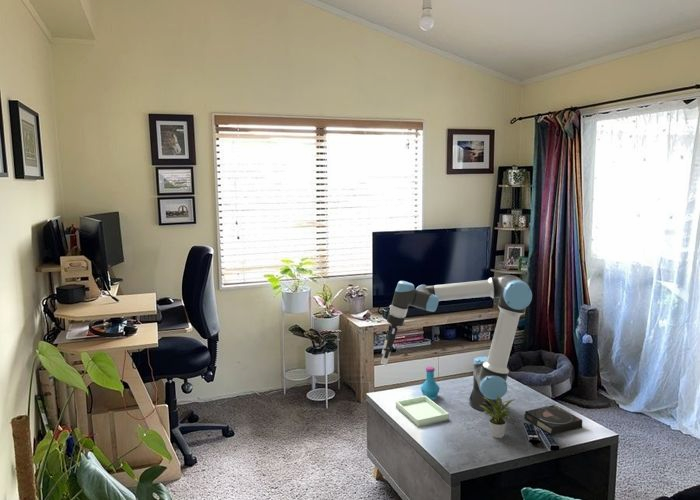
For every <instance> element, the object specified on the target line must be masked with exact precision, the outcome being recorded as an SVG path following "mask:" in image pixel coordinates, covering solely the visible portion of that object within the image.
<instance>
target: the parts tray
mask: <svg viewBox="0 0 700 500" xmlns="http://www.w3.org/2000/svg"><path fill="white" fill-rule="evenodd" d="M395 408H396V409H397V410H398V411H399V412H400V413H402V414H403V416H405V417H406V418H407V419H408V420H409V421H410V422H411V423H413V424H414V425H415V426H416V427H417V428H418V427H422V426H423V427H424V426H427V425H432V424H437V423H441V422H444V421H445V422H446V421H450V413H449V412H448V411H446V410H445V409H444V408H443V407H441V406H440V405H438V404H437V403H436V402H434V401H433V399H432V400H431V399H429V398H428V397H427V396H424V395H421V396H416V397H412V398H406V399H401V400H397V401H395Z"/></svg>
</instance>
